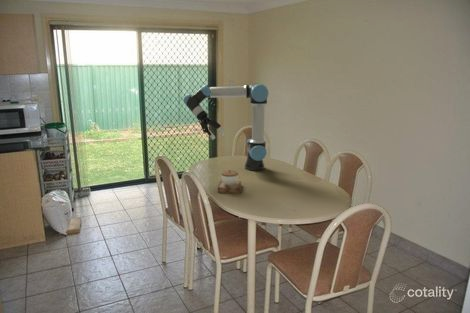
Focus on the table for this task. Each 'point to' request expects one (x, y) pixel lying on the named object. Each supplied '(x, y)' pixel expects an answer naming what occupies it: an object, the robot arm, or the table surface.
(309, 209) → the table surface
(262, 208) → the table surface
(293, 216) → the table surface
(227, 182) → the lidded jar
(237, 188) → the base
